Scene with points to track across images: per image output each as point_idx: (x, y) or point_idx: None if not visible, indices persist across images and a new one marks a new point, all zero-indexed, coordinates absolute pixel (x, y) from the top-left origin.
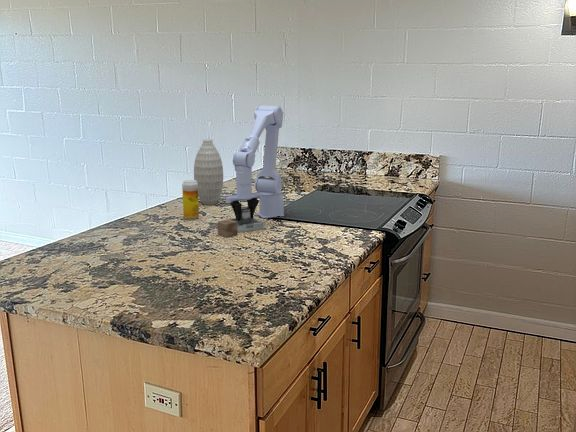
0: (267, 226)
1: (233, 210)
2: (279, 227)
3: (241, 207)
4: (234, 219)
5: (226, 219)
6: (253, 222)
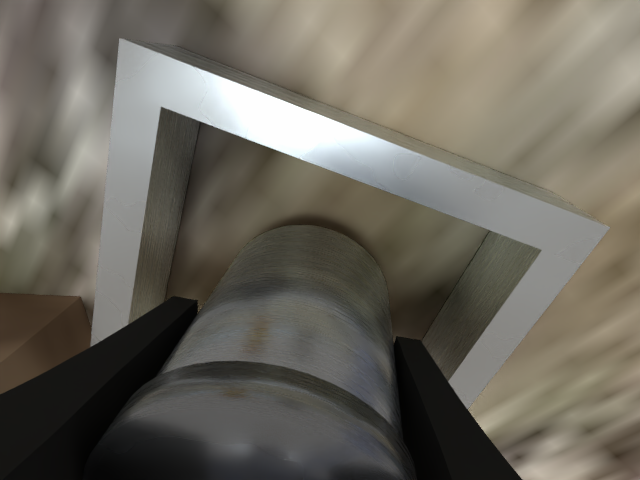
0: (501, 400)
1: (13, 391)
2: (540, 475)
3: (242, 462)
4: (255, 138)
5: (119, 63)
6: (473, 281)
